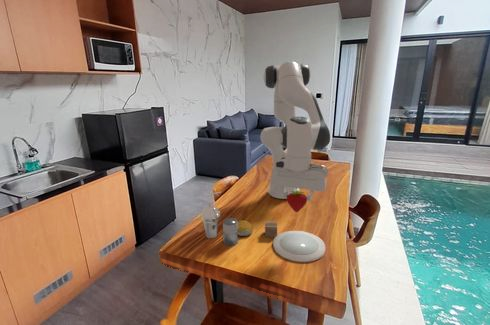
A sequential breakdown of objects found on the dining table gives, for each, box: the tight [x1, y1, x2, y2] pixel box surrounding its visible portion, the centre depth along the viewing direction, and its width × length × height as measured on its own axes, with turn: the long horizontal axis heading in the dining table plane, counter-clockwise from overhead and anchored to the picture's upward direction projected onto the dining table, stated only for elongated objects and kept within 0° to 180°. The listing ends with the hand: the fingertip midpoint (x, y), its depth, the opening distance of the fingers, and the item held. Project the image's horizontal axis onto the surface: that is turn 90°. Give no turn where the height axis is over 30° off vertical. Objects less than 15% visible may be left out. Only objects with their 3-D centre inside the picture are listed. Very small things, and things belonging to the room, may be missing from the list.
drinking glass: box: [222, 217, 239, 247], centre depth 106 cm, size 6×6×9 cm
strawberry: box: [286, 190, 308, 213], centre depth 98 cm, size 6×8×10 cm
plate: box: [272, 230, 326, 263], centre depth 103 cm, size 20×20×1 cm
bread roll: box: [237, 220, 254, 237], centre depth 114 cm, size 8×9×4 cm
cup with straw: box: [199, 190, 223, 239], centre depth 109 cm, size 8×9×20 cm
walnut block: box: [264, 220, 278, 239], centre depth 111 cm, size 5×5×5 cm
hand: (297, 198), depth 98 cm, fingers closed on strawberry, 7 cm apart
